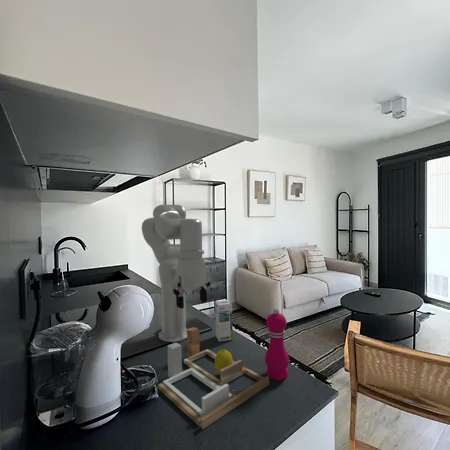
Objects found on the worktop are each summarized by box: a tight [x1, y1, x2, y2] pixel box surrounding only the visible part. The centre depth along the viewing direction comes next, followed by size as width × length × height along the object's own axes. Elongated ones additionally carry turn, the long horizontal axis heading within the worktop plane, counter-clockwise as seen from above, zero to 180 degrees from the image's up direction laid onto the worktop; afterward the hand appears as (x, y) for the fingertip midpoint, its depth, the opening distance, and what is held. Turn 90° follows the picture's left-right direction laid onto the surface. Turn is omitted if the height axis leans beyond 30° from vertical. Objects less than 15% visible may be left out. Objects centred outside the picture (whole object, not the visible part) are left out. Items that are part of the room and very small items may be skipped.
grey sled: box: [162, 342, 232, 418], centre depth 73 cm, size 21×10×9 cm, turn 42°
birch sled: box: [183, 327, 245, 386], centre depth 85 cm, size 21×10×9 cm, turn 42°
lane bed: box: [157, 360, 270, 430], centre depth 75 cm, size 20×24×2 cm
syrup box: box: [214, 299, 234, 343], centre depth 106 cm, size 6×6×14 cm
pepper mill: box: [264, 308, 290, 381], centre depth 80 cm, size 7×7×20 cm
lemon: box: [214, 348, 234, 375], centre depth 80 cm, size 6×6×8 cm
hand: (192, 304), depth 92 cm, fingers open, 9 cm apart
